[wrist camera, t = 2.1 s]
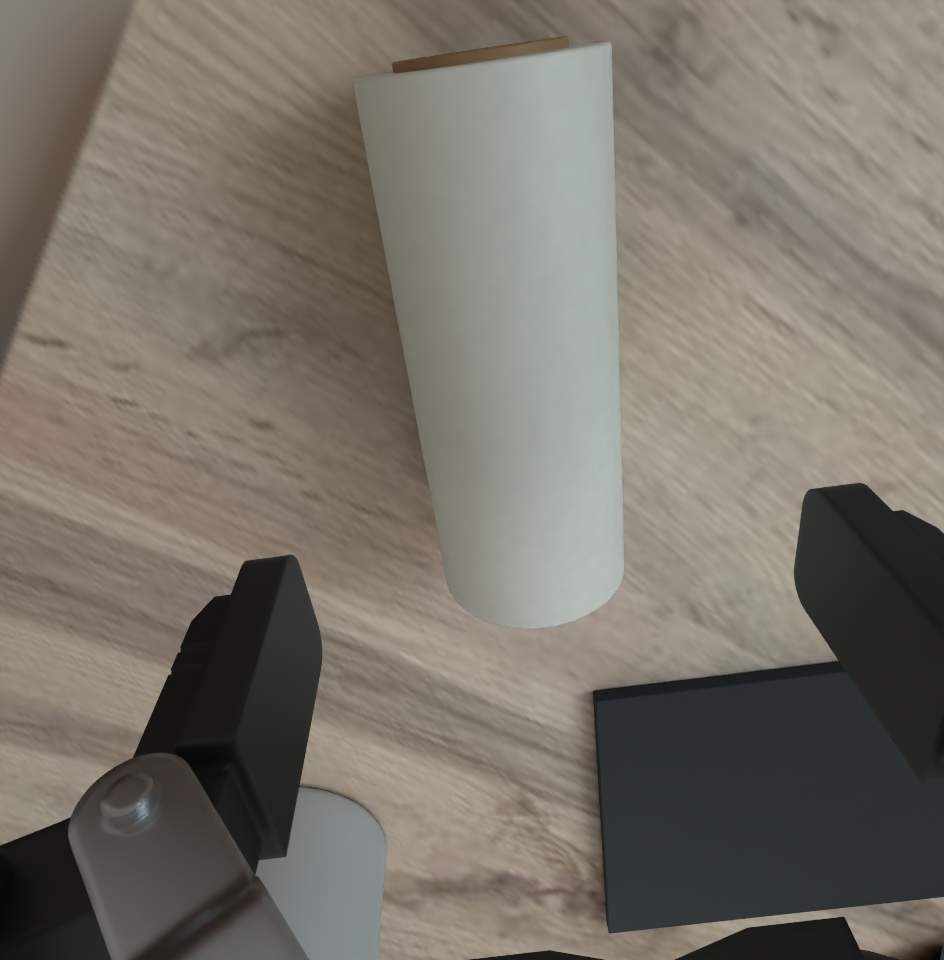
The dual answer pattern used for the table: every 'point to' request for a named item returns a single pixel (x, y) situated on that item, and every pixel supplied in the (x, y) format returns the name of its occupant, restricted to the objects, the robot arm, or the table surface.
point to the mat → (757, 801)
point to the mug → (330, 877)
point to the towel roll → (508, 314)
